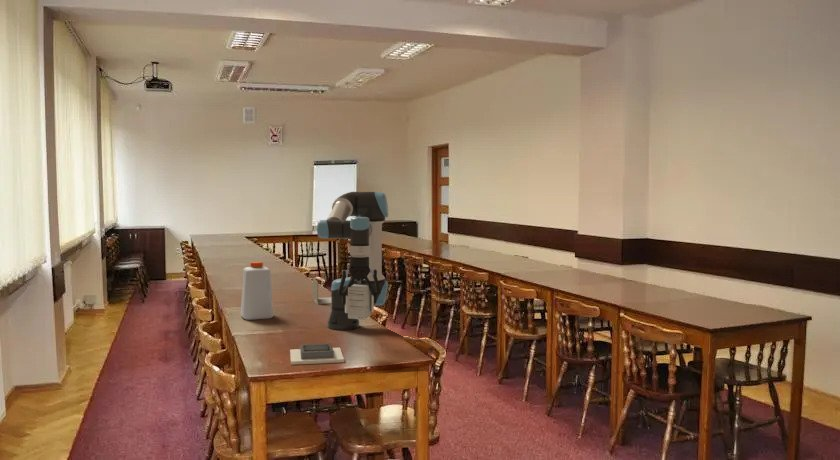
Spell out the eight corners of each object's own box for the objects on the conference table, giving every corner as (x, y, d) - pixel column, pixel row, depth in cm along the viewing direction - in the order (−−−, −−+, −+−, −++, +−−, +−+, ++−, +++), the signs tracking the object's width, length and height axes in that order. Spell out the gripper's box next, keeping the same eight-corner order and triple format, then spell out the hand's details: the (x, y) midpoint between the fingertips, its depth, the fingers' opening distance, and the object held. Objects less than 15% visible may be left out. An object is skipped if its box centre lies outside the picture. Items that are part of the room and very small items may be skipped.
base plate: (290, 352, 262) (290, 349, 262) (339, 350, 266) (339, 347, 266) (291, 364, 245) (291, 361, 244) (344, 362, 249) (344, 359, 249)
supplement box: (353, 314, 263) (354, 284, 262) (371, 316, 261) (371, 285, 260) (347, 318, 255) (347, 286, 255) (364, 319, 254) (365, 287, 253)
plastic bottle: (244, 321, 320) (243, 264, 318) (239, 315, 334) (239, 261, 332) (274, 318, 326) (274, 263, 324) (269, 313, 340) (268, 260, 338)
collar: (299, 350, 260) (299, 344, 260) (331, 349, 263) (331, 343, 263) (301, 359, 248) (301, 352, 248) (333, 357, 251) (333, 351, 251)
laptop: (339, 304, 370) (339, 281, 369) (317, 304, 366) (317, 282, 365) (333, 298, 387) (333, 276, 386) (312, 299, 383) (312, 277, 383)
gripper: (332, 257, 250) (332, 314, 252) (389, 256, 255) (388, 312, 257) (330, 255, 257) (330, 311, 259) (385, 254, 263) (385, 309, 264)
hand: (359, 312), depth 258 cm, fingers closed on supplement box, 10 cm apart
